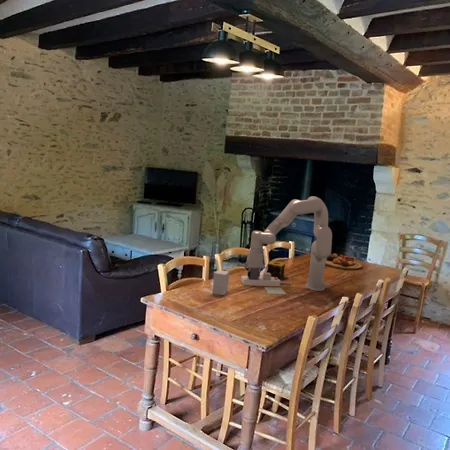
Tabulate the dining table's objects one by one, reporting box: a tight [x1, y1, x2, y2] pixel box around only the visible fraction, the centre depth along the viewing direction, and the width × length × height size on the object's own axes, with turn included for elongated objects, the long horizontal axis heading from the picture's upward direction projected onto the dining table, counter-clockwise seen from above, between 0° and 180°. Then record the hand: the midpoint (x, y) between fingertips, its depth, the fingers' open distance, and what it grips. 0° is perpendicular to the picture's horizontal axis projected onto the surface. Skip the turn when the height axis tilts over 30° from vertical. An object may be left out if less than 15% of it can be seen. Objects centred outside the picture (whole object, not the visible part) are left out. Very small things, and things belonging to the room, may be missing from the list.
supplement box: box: [212, 269, 230, 296], centre depth 246 cm, size 7×7×13 cm
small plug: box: [262, 272, 271, 280], centre depth 271 cm, size 4×4×5 cm
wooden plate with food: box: [325, 253, 363, 271], centre depth 340 cm, size 32×32×8 cm
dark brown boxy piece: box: [266, 260, 286, 281], centre depth 288 cm, size 10×10×10 cm
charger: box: [249, 268, 259, 280], centre depth 270 cm, size 5×5×8 cm
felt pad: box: [263, 286, 287, 295], centre depth 259 cm, size 11×11×1 cm
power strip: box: [240, 275, 291, 287], centre depth 272 cm, size 32×8×4 cm, turn 98°
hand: (253, 277), depth 270 cm, fingers closed on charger, 5 cm apart
